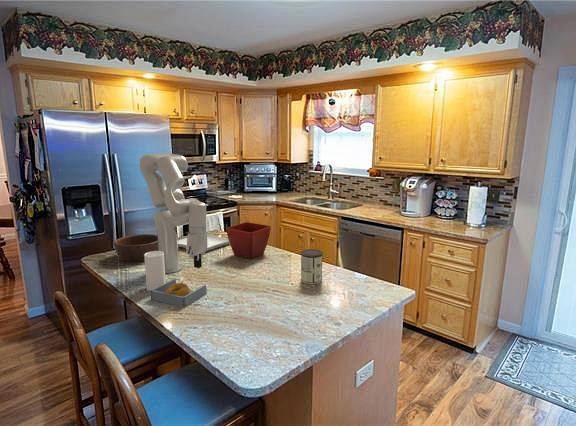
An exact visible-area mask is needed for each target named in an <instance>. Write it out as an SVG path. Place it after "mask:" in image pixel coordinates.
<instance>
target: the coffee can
mask: <svg viewBox="0 0 576 426" xmlns="http://www.w3.org/2000/svg"><path fill="white" fill-rule="evenodd" d="M323 253H324V252H323V251H322V250H320V249H316V248H314V249H312V248H311V249H309V248H308V249H307V248H306V249H303V250H301V252H300V258H301V259H300V282H301V283H304V284H307V285H317V284H320V283H322V282H323V255H324V254H323Z"/></svg>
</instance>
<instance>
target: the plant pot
mask: <svg viewBox="0 0 576 426" xmlns="http://www.w3.org/2000/svg"><path fill="white" fill-rule="evenodd" d="M271 228H272V225H266V224H261V223H255V222H249V221H248V222H247V221H245V222H241V223H237V224H235V225H232V226H228V227H226V228H225V230H226V235H227V239H229V245H230V248H231V250H232V253H233V255H234V256H235V257H240V258H244V259H249V260H252V259H255V258H257V257H259V256H261V255H263V254H264V253H265V250H266V248H267V245H268V242H269V238H270V234H271Z"/></svg>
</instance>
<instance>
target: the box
mask: <svg viewBox="0 0 576 426" xmlns="http://www.w3.org/2000/svg"><path fill="white" fill-rule="evenodd" d="M174 284H177V279H176V278H173V279H170V280H169V281H167V282H166V283H164V284H162V285H160V286H158V287H156V288H154V289H152V290H150V291H149V292H150V300H153V301H156V302H161V303H165V304H169V305H174V306H176V307H177V306H178V307H181V308H185V307H187V306H189V305H191V304H192V303H194V302H195V301H197V300H199V299H200V298H202V297H203V296H205V295H207V292H208V291H207V284H203V285H202V286H200V287H199V288H197V289H195V290H192V292H189V294H188V295H186V296H184V297H182V296H177V295H173V294H168V293H165V291H166V290H168V289H169V288H170V287H171V286H172V285H174Z"/></svg>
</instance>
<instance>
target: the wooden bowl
mask: <svg viewBox="0 0 576 426" xmlns="http://www.w3.org/2000/svg"><path fill="white" fill-rule="evenodd" d="M113 247H114V251H115V253H116V255H117V257H118V259H119V260H121V261H122V262H129V263H140V262H145V258H144V254H145V253H148V252H152V251H159V249H158V236H157V235H156V234H149V233H148V234H145V233H143V234H133V235H132V234H131V235H126V236H123V237H122V236H121V237H120V238H117V239H115V240H114V241H113Z"/></svg>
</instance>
